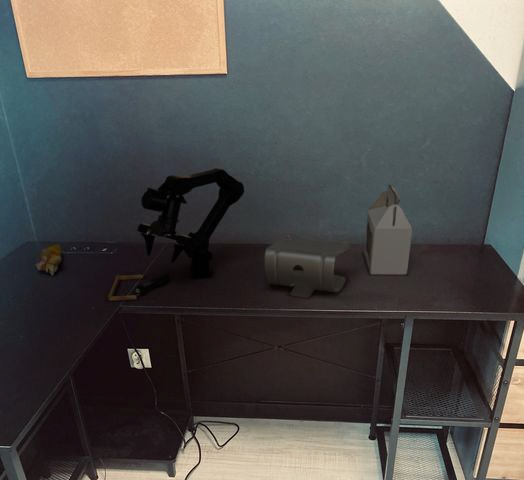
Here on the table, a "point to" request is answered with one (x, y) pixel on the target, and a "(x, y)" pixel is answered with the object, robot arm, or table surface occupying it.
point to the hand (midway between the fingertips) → (160, 259)
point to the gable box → (387, 236)
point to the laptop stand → (304, 265)
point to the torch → (50, 259)
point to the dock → (112, 291)
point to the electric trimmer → (151, 284)
